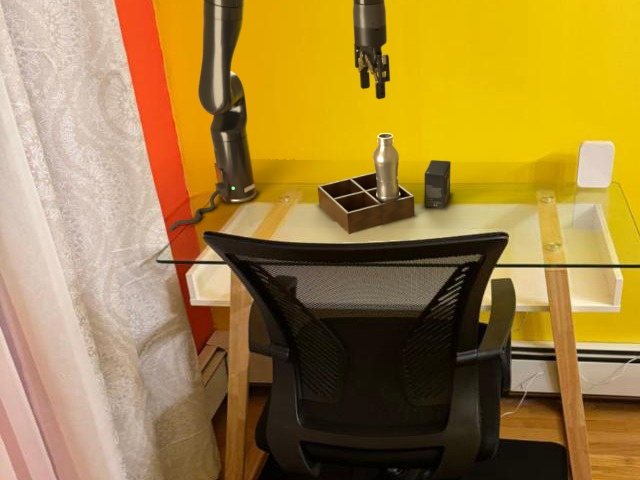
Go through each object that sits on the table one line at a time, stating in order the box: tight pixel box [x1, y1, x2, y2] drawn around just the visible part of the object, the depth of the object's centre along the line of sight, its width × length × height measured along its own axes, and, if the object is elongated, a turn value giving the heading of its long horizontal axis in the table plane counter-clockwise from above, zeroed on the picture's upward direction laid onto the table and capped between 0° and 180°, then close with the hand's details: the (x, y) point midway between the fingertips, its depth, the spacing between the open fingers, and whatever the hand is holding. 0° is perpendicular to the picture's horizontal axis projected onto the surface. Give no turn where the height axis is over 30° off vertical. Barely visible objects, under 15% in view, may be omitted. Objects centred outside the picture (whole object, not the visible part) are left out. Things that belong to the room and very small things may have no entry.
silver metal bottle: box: [372, 132, 401, 204], centre depth 199 cm, size 6×7×20 cm
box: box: [423, 159, 452, 209], centre depth 207 cm, size 9×6×10 cm, turn 167°
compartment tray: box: [317, 171, 416, 235], centre depth 205 cm, size 19×19×6 cm
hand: (372, 93), depth 190 cm, fingers open, 8 cm apart
